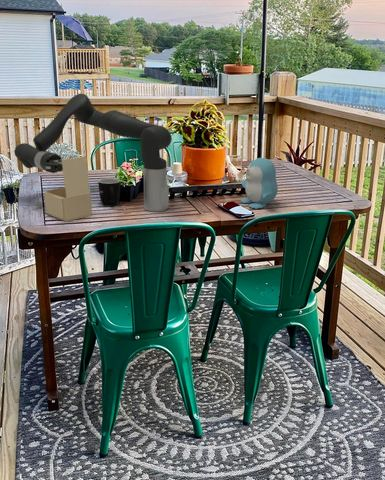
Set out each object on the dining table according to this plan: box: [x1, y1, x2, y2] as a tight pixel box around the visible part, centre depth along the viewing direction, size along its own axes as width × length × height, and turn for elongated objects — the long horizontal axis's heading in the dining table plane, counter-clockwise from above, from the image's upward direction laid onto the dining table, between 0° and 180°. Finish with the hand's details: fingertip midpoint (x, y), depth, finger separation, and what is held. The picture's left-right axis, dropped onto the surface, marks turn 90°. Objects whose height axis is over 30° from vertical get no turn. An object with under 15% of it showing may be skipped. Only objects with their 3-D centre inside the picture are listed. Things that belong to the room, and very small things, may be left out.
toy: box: [240, 157, 279, 210], centre depth 209 cm, size 24×14×20 cm, turn 21°
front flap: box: [62, 155, 91, 198], centre depth 184 cm, size 14×10×1 cm
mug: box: [97, 177, 121, 207], centre depth 205 cm, size 12×9×10 cm
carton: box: [43, 186, 93, 222], centre depth 192 cm, size 14×13×9 cm
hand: (73, 168), depth 184 cm, fingers closed
